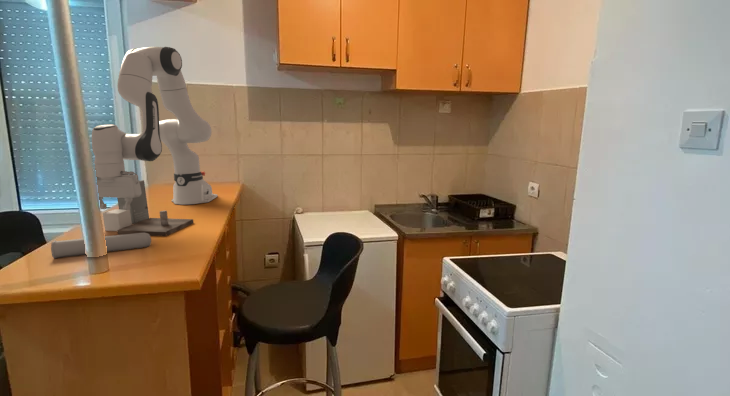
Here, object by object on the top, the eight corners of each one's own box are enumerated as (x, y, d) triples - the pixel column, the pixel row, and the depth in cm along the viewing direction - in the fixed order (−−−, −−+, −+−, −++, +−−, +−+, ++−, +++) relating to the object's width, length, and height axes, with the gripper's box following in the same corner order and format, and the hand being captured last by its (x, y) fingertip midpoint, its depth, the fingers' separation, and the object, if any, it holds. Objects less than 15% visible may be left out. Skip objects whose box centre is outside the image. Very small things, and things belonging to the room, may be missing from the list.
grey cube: (117, 226, 147) (115, 209, 145) (132, 226, 146) (130, 209, 145) (105, 230, 141) (102, 213, 140) (120, 231, 140) (117, 213, 139)
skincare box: (134, 224, 150) (129, 183, 146) (118, 223, 151) (113, 182, 148) (150, 218, 158) (146, 179, 154) (135, 217, 159) (130, 179, 156)
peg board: (150, 221, 153) (148, 205, 152) (193, 223, 150) (191, 206, 149) (118, 234, 136) (115, 216, 135) (165, 236, 134) (163, 217, 133)
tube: (151, 231, 126) (56, 240, 117) (149, 230, 122) (50, 240, 112) (152, 248, 126) (57, 258, 116) (150, 247, 121) (51, 259, 111)
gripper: (143, 170, 140) (147, 208, 143) (92, 169, 143) (97, 206, 146) (130, 172, 134) (135, 212, 137) (77, 171, 137) (82, 210, 140)
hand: (115, 209), depth 141 cm, fingers open, 8 cm apart
